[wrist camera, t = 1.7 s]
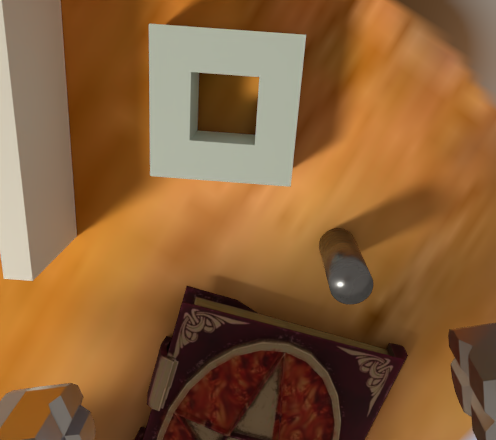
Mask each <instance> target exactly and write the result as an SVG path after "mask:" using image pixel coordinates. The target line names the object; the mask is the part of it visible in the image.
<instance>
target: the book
mask: <svg viewBox="0 0 496 440" xmlns="http://www.w3.org/2000/svg"><path fill="white" fill-rule="evenodd" d="M407 356H408V355H407V353H406V351H405V349H404V347H403V346H400V345H396V344H392V343H389V345H388V348H387V349H383V348H379V347H376V346H372V345H369V344H365V343H362V342H358V341H355V340H351V339H347V338H344V337H340V336H337V335H333V334H330V333H326V332H322V331H319V330H315V329H312V328H308V327H305V326H301V325H298V324H294V323H290V322H287V321H283V320H280V319H276V318H273V317H269V316H265V315H262V314H258V313H257V312H255V311H254V310H252V309H250V308H249V307H247V306H246V305H244V304H242V303H241V302H239V301H238V300H235V299H231V298H228V297H224V296H221V295H217V294H214V293H210V292H207V291H203V290H199V289H196V288H192V287H189V286H187V287H186V291H185V294H184V298H183V301H182V305H181V308H180V312H179V315H178V319H177V322H176V326H175V329H174V333H173V336H172V338H171V337H168V336H166V338H165V339H164V341H163V343H162V344H161V347H160V350H159V354H158V358H157V361H156V365H155V368H154V372H153V376H152V379H151V383H150V386H149V390H148V396H147V405H148V406H150V407H151V408H152V410H151V413H150V417H149V420H148V424H147V427H146V428H144V427H141V428H140V430H139V432H138V434H137V435H136V437H135V440H364V439H365V437H366V435H367V433H368V431H369V430H370V428H371V426H372V424H373V422H374V420H375V418H376V416H377V414H378V412H379V410H380V408H381V406H382V404H383V402H384V400H385V398H386V397H387V395H388V393H389V391H390V389H391V387H392V385H393V383H394V381H395V379H396V377H397V375H398V373H399V371H400V369H401V367H402V365H403V364H404V362H405V360H406V358H407Z"/></svg>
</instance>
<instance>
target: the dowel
mask: <svg viewBox="0 0 496 440" xmlns="http://www.w3.org/2000/svg"><path fill="white" fill-rule="evenodd" d="M319 249H320V253H321V257H322V260H323V264H324V268H325V272H326V276H327V280H328V284H329V288H330V291H331V294H332V296H333V297H334V298H335V299H336V300H337V301H339V302H341V303H344V304H357V303H360V302H362V301H364V300H365V299H366V298H367V297H368V296H369V295H370V294H371V292H372V289H373V279H372V277H371V275H370V272H369V270H368V268H367V266H366V263H365V261H364V259H363V257H362V255H361V252H360V250H359V248H358V246H357V244H356V241H355V239H354V237H353V235H352V234H351V233H350V232H348V231H347V230H344V229H340V228H337V229H332V230H329V231H327V232H326V233H325V234H324V235H323V236H322V237H321V239H320V243H319Z"/></svg>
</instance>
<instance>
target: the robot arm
mask: <svg viewBox="0 0 496 440" xmlns="http://www.w3.org/2000/svg"><path fill="white" fill-rule="evenodd" d="M448 337H449V347H450V349H451V351H452V353H453V354H454V356H455V359H454V360H453V361H452V363H451V373H452V380H453V384H454V388H455V392H456V395H457V397H458V400H459V403H460V405H461V407H462V409H463V411H464V412H465V413H466V414H468V415H469V416H471V417H472V427H473V432H474V434H475V436H476V438H477V440H496V323H489V324H483V325H476V326H469V327H462V328H455V329H449V335H448ZM82 399H83V395H82V393H81V391H80V389H79V387H78V385H76V384H73V383H68V384H59V385H51V386H42V387H34V388H27V389H20V390H13V391H11V392H9V393H7V394H6V395H5V396H4V397H3V398H2V400H1V401H0V440H95V433H96V430H95V424H94V419H93V417H92V415H91V412H90V411H88V410H87V409H85V408H84V407H83V406H81V402H82Z"/></svg>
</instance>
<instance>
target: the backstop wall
mask: <svg viewBox="0 0 496 440" xmlns="http://www.w3.org/2000/svg"><path fill="white" fill-rule="evenodd" d="M76 237H77V228H76V214H75V199H74V185H73V170H72V156H71V142H70V127H69V113H68V99H67V84H66V70H65V55H64V41H63V27H62V12H61V0H0V254H1V261H2V268H3V276H4V279H15V280H28V281H33V280H34V279H35V278H36V277H37V276H38V275H39V274H40V273H41V272H42V271H43V270H44V269H45V268H46V267H47V266H48V265H49V264H50V263H51V262H52V261H53V260H54V259H55V258H56V257H57V256H58V255H59V254H60V253H61V252H62V251H63V250H64V249H65V248H66V247H67V246H68V245H69V244H70V243H71V242H72V241H73V240H74V239H75V238H76Z"/></svg>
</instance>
